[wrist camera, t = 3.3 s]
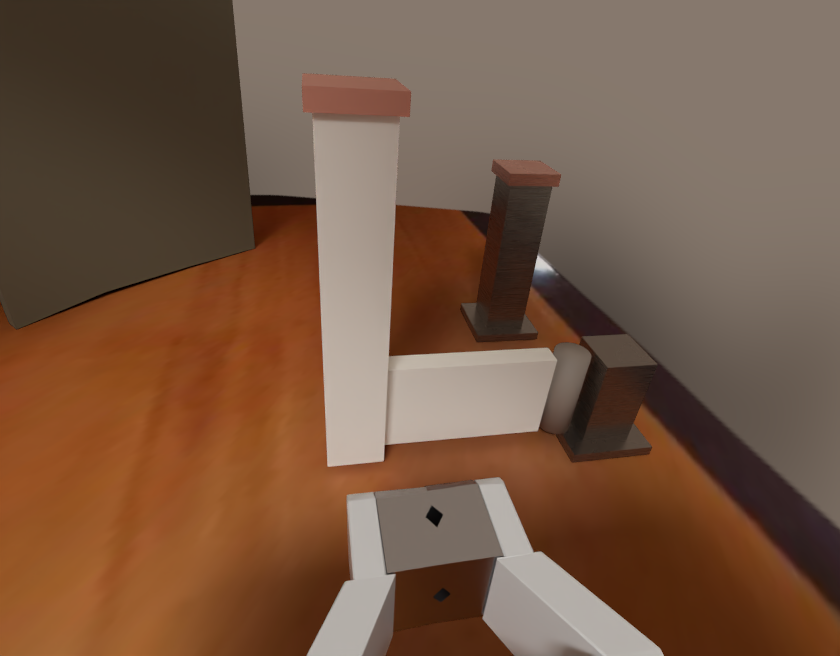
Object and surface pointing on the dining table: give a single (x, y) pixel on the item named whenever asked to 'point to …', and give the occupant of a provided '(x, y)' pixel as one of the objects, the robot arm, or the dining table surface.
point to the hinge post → (610, 401)
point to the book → (116, 147)
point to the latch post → (511, 250)
